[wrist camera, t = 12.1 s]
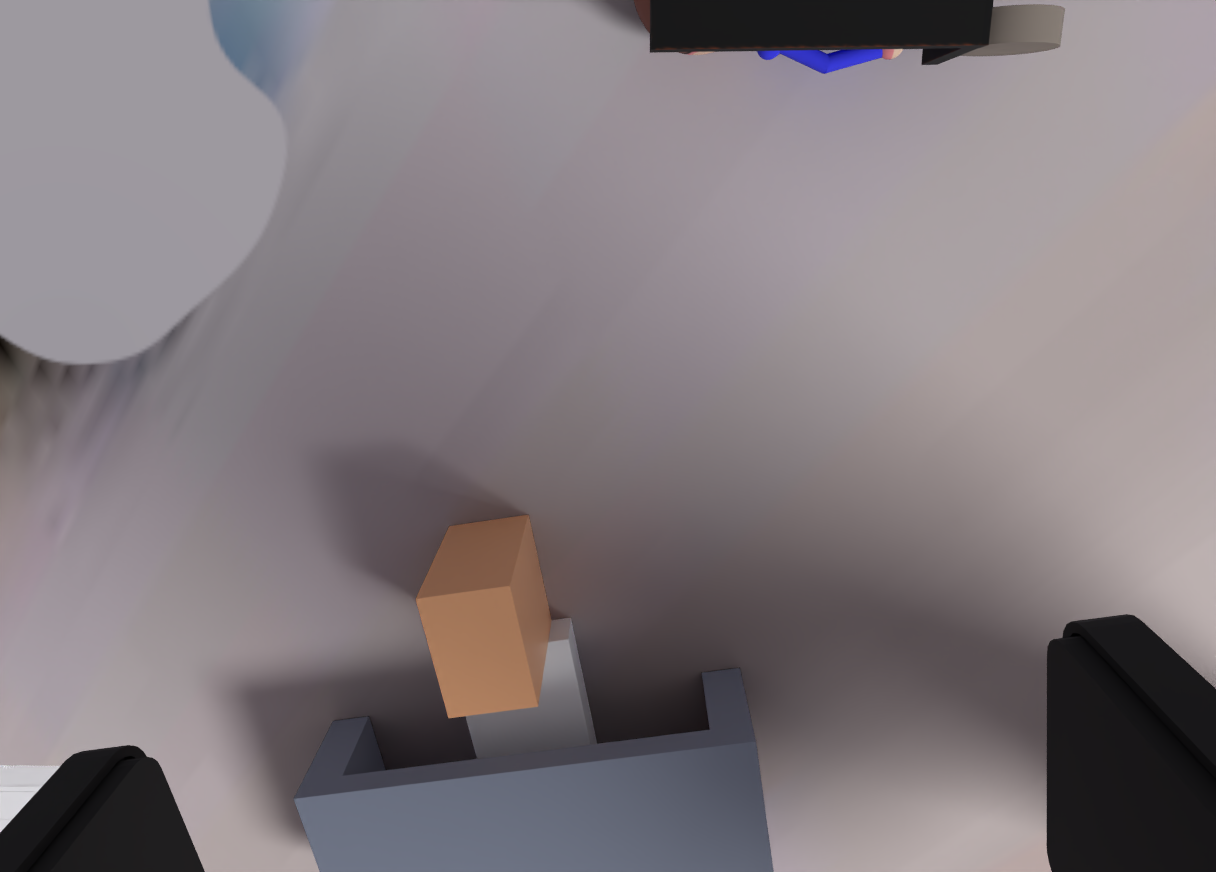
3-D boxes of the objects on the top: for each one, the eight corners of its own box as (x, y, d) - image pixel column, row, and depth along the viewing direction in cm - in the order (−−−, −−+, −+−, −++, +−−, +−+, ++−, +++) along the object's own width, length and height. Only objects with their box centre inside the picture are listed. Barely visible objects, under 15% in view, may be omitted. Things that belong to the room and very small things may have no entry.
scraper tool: (548, 511, 41) (533, 582, 34) (623, 871, 48) (623, 987, 42) (429, 528, 41) (392, 602, 35) (522, 883, 49) (506, 999, 42)
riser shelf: (739, 667, 44) (755, 741, 38) (760, 818, 47) (778, 906, 41) (333, 721, 45) (293, 799, 40) (380, 863, 48) (349, 953, 43)
